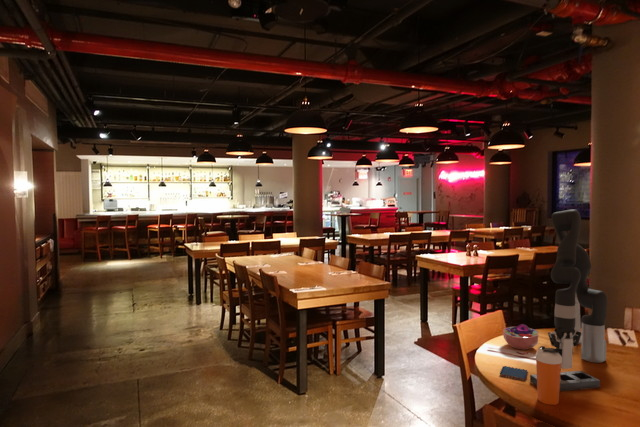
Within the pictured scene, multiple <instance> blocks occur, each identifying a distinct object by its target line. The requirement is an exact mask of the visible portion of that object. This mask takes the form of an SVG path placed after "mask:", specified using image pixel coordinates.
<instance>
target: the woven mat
mask: <svg viewBox="0 0 640 427" xmlns="http://www.w3.org/2000/svg"><path fill="white" fill-rule="evenodd" d="M528 375H529V371H528V369H523V368H517V367H511V366H507V365H506V366H502V367H501V369H500V371H499V377H502V378H507V379H512V380H518V381H523V382H526V381H527V380H528Z"/></svg>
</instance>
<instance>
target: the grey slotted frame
mask: <svg viewBox="0 0 640 427" xmlns="http://www.w3.org/2000/svg"><path fill="white" fill-rule="evenodd" d="M529 382H530V383H531V384H532V385H534V386H536V387H537V373H536V374H530V375H529ZM598 388H601V380H600V379H599V378H597V377H595V376H592V375H590V374H589V373H587V372H585V371H583V370H573V371H572V370H571V371H561V375H560V391H559V392H566V391H567V392H568V391H569V392H570V391H578V390H588V389H598Z"/></svg>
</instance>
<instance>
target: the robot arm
mask: <svg viewBox="0 0 640 427" xmlns="http://www.w3.org/2000/svg"><path fill="white" fill-rule="evenodd" d="M551 222H552V226H553V228H554V231H555V233H556V236H557V238H558V239H559V244H558V247H557V249H556V261H555V263H554V265H553V267H552V268H551V271H550V278H551V280H552V282H553V283H555V284H561V285H562V284H564V285H569V287H566V288H558V289H557V290H556V291H555V300H554V301H555V305H554V327H555V329H554V331H549V332H547V335H548V338H549V341H550V344H551V346H552V347H553V348H554V347H555V349H558V350H560V352H559V354H560V355H561V357H562V349H561V348H562V344H563V339H568V338H569V339H573V347H572V356H573V355H574V347H578V346H579V340H580V336H581V344H580V348H581V350H580V352H581V353H580V355H581V359H582V360H583V361H587V362H590V363H603V362H605V361H607V340H606V339H605V337H606V336H605V334H606V333H605V332H606V330H605V329H606V328H605V325H606V320H607V311H608V295H607V294H606V292H604V290H603V291H602V290H597V289H593V288H590V287H589V285H588V282H587V280H588V278H587V277H588V276H589V274H590V272H591V270H592V262H591V260H590V257H589V253H588V251H587V250H586V249H585V248H583V247H582V246H581V245H580V244H578V241H579V237H580V234H581V229H582V217H581V214H580V212H579V210H577V209H576V208H575V209H566V210H561V211H556V212H553V213H552V214H551ZM576 295H577V299H578V302H579V304H580V307H582V308H586V309H591V310H592V311H591V314H584V315H582V316H581V332H579V331H576V330H575V329H574V328H575V324H576V309H575V304H576V301H575V297H576ZM558 338H559V339H561V341H560V340H559V339H558ZM575 340H576V341H575Z"/></svg>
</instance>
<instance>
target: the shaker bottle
mask: <svg viewBox="0 0 640 427" xmlns="http://www.w3.org/2000/svg"><path fill="white" fill-rule="evenodd" d="M559 352H560V350H558V349H556V347H555V348H554V347H545V346H544V345H541V346H539V347H538V349H537V351H536V352H535V365H536V367H535V368H536V374H537V386H536V387H537V391H536V392H537V399H538V401H539V402H541V403H542V404H545V405H553V406H555V405H558V404H559V402H560V392H561V391H560V375H561V372H562V371H561V370H562V368H561V363H562V357H561V355H560V354H559Z"/></svg>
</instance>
